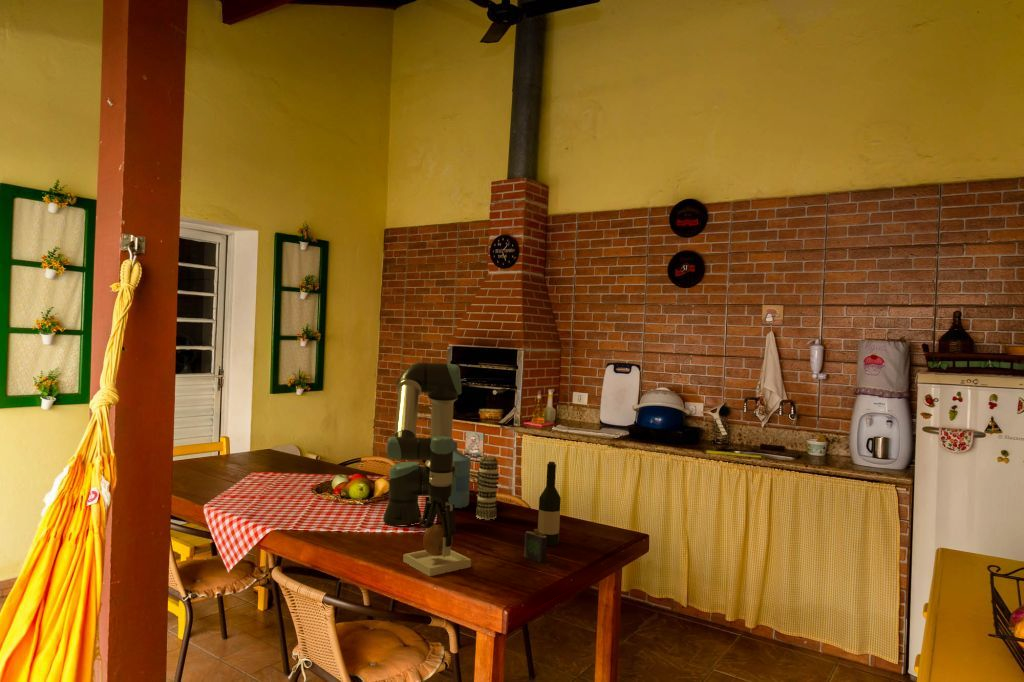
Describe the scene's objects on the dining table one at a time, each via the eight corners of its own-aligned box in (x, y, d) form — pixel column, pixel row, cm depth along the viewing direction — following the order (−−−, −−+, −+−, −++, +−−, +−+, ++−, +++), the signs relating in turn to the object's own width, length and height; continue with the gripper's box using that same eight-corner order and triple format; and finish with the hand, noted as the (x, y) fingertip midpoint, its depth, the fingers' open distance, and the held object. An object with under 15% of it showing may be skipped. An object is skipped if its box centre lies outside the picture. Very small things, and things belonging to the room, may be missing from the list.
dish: (403, 561, 227) (403, 554, 227) (443, 553, 238) (443, 546, 238) (429, 576, 215) (429, 568, 215) (470, 566, 225) (471, 559, 225)
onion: (445, 548, 233) (446, 519, 233) (456, 558, 224) (458, 527, 224) (418, 552, 229) (419, 522, 228) (428, 561, 220) (430, 530, 220)
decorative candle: (472, 519, 283) (475, 458, 282) (477, 513, 292) (480, 454, 291) (494, 521, 281) (497, 460, 281) (499, 515, 290) (501, 456, 290)
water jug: (432, 500, 310) (435, 438, 310) (466, 500, 313) (469, 439, 313) (434, 509, 295) (437, 444, 295) (471, 509, 298) (473, 445, 297)
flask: (522, 557, 238) (524, 526, 237) (528, 555, 240) (529, 525, 240) (542, 564, 231) (544, 532, 231) (548, 562, 234) (550, 531, 233)
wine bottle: (562, 542, 257) (566, 462, 257) (552, 547, 250) (556, 465, 250) (543, 537, 261) (547, 459, 261) (532, 543, 254) (536, 462, 254)
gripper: (412, 478, 232) (409, 544, 233) (450, 492, 215) (447, 563, 215) (431, 476, 237) (428, 540, 237) (469, 489, 220) (466, 559, 220)
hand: (437, 551), depth 226 cm, fingers closed on onion, 10 cm apart
